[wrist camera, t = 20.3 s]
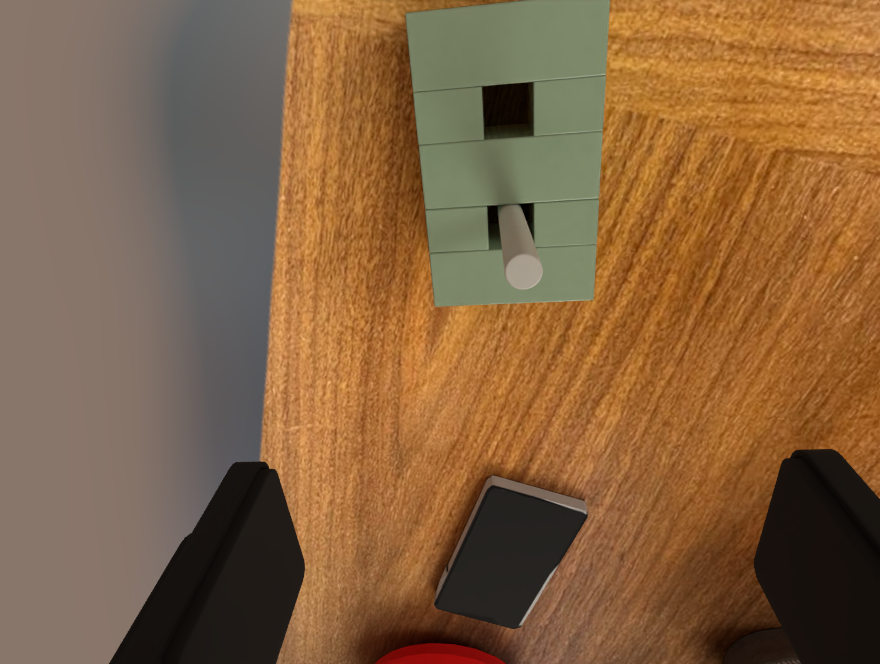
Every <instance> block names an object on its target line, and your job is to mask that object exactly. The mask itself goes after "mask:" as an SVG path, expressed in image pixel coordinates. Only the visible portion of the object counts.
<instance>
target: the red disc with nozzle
mask: <svg viewBox="0 0 880 664" xmlns="http://www.w3.org/2000/svg"><path fill="white" fill-rule="evenodd" d="M375 664H506V663H504V662H503V661H501V660H500V659H498V658H496V657H495V656H492V655H490V654H487V653H485V652H482V651H480V650H477V649H474V648H469V647H464V646H460V645H455V644H440V643H427V644H418V645H410V646H407V647H403V648H400V649H397V650H394V651H391V652H390V653H388V654H386V655H385V656H383V657H382V658H380V659H378V661H377V662H376V663H375Z"/></svg>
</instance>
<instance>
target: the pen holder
mask: <svg viewBox="0 0 880 664" xmlns="http://www.w3.org/2000/svg"><path fill="white" fill-rule="evenodd" d="M609 10H610V0H521V1H511V2H502V3H492V4H483V5H474V6H464V7H455V8H445V9H436V10H426V11H417V12H407V13H405V18H406V28H407V38H408V48H409V58H410V68H411V78H412V88H413V92H414V93H413V98H414V108H415V118H416V128H417V138H418V144H419V157H420V166H421V176H422V186H423V196H424V206H425V209H426V210H425V216H426V226H427V236H428V246H429V252H430V254H429V256H430V266H431V276H432V286H433V296H434V305H435V306H436V307H438V306H462V305H486V304H510V303H535V302H559V301H583V300H593V299H594V284H595V266H596V247H597V245H596V243H597V230H598V212H599V199H598V198H599V191H600V173H601V154H602V136H603V132H602V130H603V121H604V103H605V84H606V76H605V75H606V65H607V46H608V28H609ZM524 82H527V87H528V123H521V124H508V125H496V126H485V112H484V89H483V86H491V85H502V84H513V83H524ZM521 203H528V207H529V221H526V222H527V225H528V227H529V230H530V233H531V236H532V239H533V241H534V244H535V247H536V250H537V253H538V255H539V258H540V261H541V264H542V267H543V274H542V277H541V279H540V281H539V282H538V283H537V284H536V285H535V286H534V287H532V288H529V289H524V290H523V289H517V288H514V287H513V286H511V285H510V284H509V283H508V282H507V280H506V278H505V273H504V264H503V254H502V245H501V236H500V227H499V223H489V205H505V204H521Z"/></svg>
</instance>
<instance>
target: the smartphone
mask: <svg viewBox="0 0 880 664" xmlns="http://www.w3.org/2000/svg"><path fill="white" fill-rule="evenodd" d="M587 517H588V512H587V507H586V502H585V501H583V500H579V499H575V498H572V497H568V496H565V495H561V494H558V493H554V492H551V491H547V490H544V489H540V488H536V487H533V486H529V485H526V484H522V483H519V482H515V481H512V480H508V479H505V478H501V477H497V476H491V477H490V478H488V479H487V481H486V483H485V485H484V487H483V489H482V492H481V494H480V496H479V498H478V500H477V503H476V505H475V507H474V509H473V511H472V514H471V516H470V518H469V520H468V522H467V524H466V527H465V529H464V531H463V533H462V535H461V538H460V540H459V542H458V544H457V546H456V549H455V551H454V553H453V555H452V557H451V560H450V562H449V564H448V566H446V568H445V570H444V572H443V575H442V577H441V579H440V581H439V585H438V588H437V590H436V592H435V597H434V605H435V607H436V608H437V609H439V610H443V611H447V612H451V613H454V614H458V615H462V616H466V617H470V618H473V619H477V620H481V621H485V622H489V623H492V624H496V625H500V626H504V627H508V628H511V629H516V628H519V627H521V626H522V624H523V622H524V621H525V619H526V617H527V616H528V614H529V613H530V612H531V610H532V608H533V607H534V605H535V603H536V602H537V600H538V598H539V597H540V595H541V593H542V591H543V589H544V588H545V586H546V585H547V583H548V581H549V580H550V578H551V576H552V575H553V573H554V571H555V570H556V568H557V567H558V565H559V563H560V562H561V560H562V558H563V557H564V555H565V553H566V552H567V550H568V548H569V547H570V545H571V544H572V542H573V540H574V539H575V537H576V535H577V534H578V532H579V530H580V529H581V527H582V526H583V524H584V522H585V521H586V519H587Z"/></svg>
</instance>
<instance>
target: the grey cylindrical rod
mask: <svg viewBox="0 0 880 664" xmlns="http://www.w3.org/2000/svg"><path fill="white" fill-rule="evenodd" d="M497 208H498V217H499V227H500V236H501V245H502V254H503V264H504V273H505V278H506V280H507V282H508V283H509V284H510V285H511V286H513V287H514V288H517V289H523V290H524V289H529V288H532V287H534V286H535V285H536V284H537V283H538V282H539V281H540V279H541V277H542V274H543V267H542V264H541V261H540V258H539V255H538V253H537V250H536V247H535V244H534V241H533V239H532V236H531V233H530V230H529V227H528V225H527V222H526V219H525V216H524V213H523V211H522V208H521V205H520V204H505V205H497Z"/></svg>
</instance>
